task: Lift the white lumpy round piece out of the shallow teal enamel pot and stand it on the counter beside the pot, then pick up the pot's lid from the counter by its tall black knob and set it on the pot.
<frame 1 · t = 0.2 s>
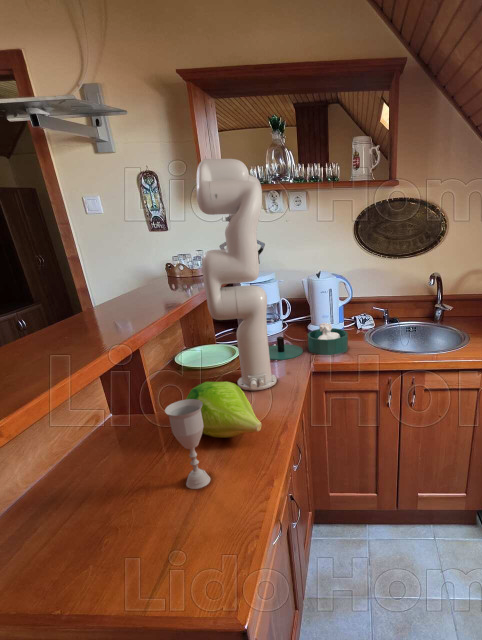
hand: (244, 266, 165), 31 cm above the table, tool pointing down, fingers open, 9 cm apart
lettuce: (228, 434, 108), on the table
chalice: (198, 482, 90), on the table
white lumpy round piece: (328, 348, 166), resting on pot
lid: (281, 352, 163), point 1 cm above the table
pot: (328, 349, 166), on the table
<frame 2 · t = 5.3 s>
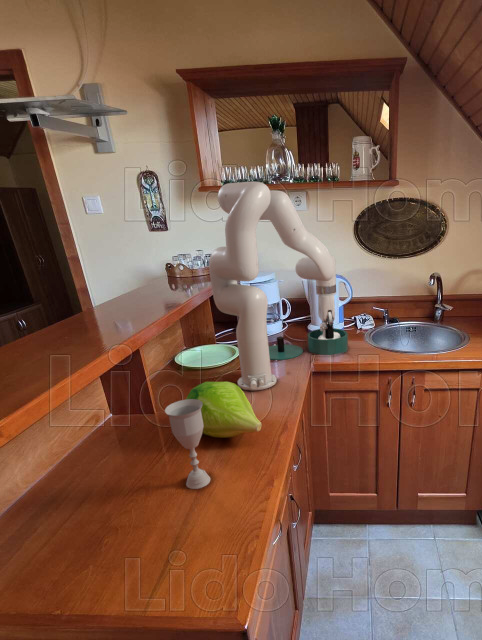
hand: (328, 335, 164), 6 cm above the table, tool pointing down, fingers closed on white lumpy round piece, 5 cm apart
white lumpy round piece: (328, 348, 166), resting on pot, touching gripper
everything else where it was.
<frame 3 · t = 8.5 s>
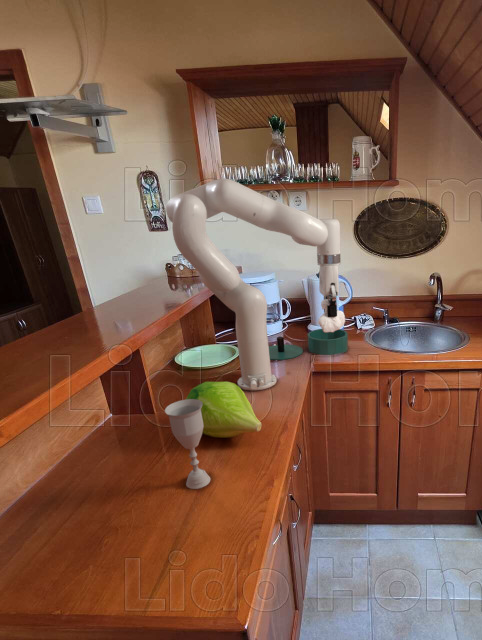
hand: (330, 314, 143), 19 cm above the table, tool pointing down, fingers closed on white lumpy round piece, 5 cm apart
white lumpy round piece: (330, 329, 146), point 13 cm above the table, touching gripper
everything else where it was.
when the fingers open (6 cm above the table, at t = 11.8 s): white lumpy round piece stays where it is, on the table.
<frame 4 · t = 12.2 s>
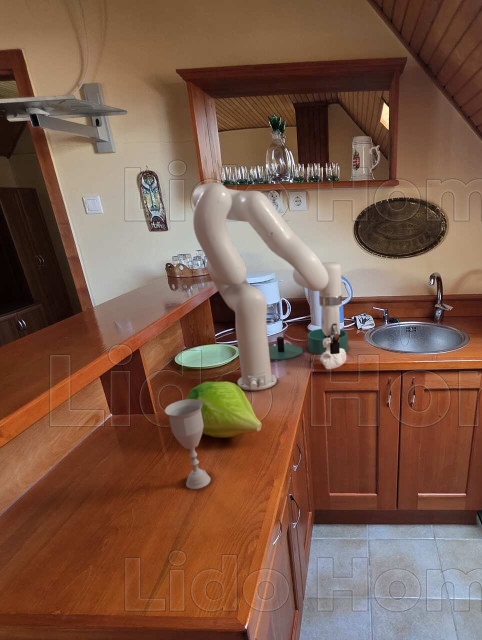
hand: (331, 349, 147), 6 cm above the table, tool pointing down, fingers open, 9 cm apart
white lumpy round piece: (332, 366, 150), on the table
everything else where it was.
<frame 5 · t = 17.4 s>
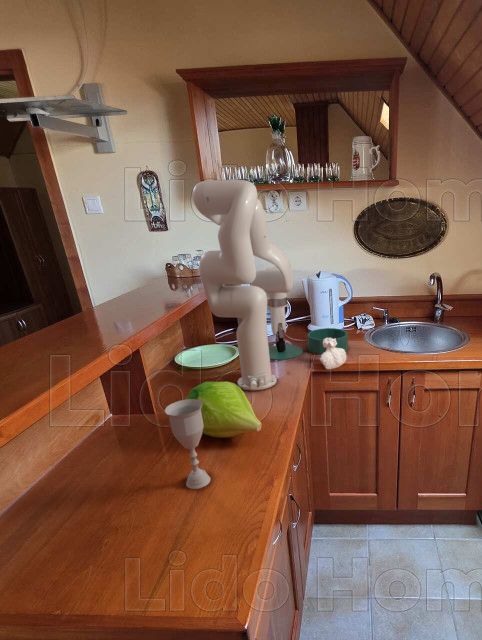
hand: (281, 348, 162), 2 cm above the table, tool pointing down, fingers closed on lid, 2 cm apart
lid: (281, 352, 163), point 1 cm above the table, touching gripper
everything else where it was.
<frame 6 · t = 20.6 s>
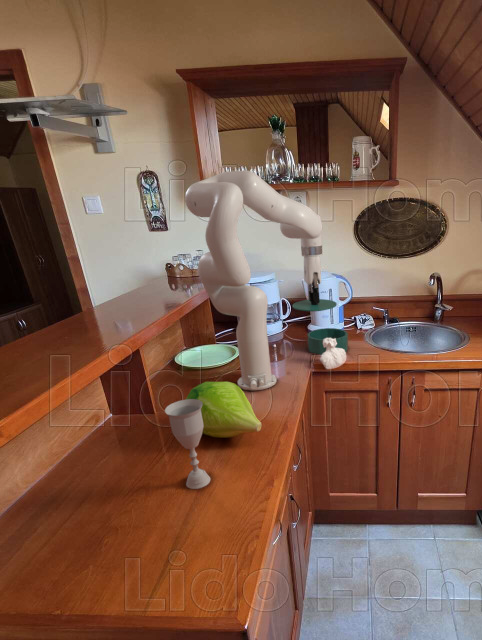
hand: (314, 301, 158), 19 cm above the table, tool pointing down, fingers closed on lid, 2 cm apart
lid: (314, 305, 158), point 18 cm above the table, touching gripper
everything else where it was.
when the fingers open (8 cm above the table, at t = 23.8 s): lid stays where it is, resting on pot.
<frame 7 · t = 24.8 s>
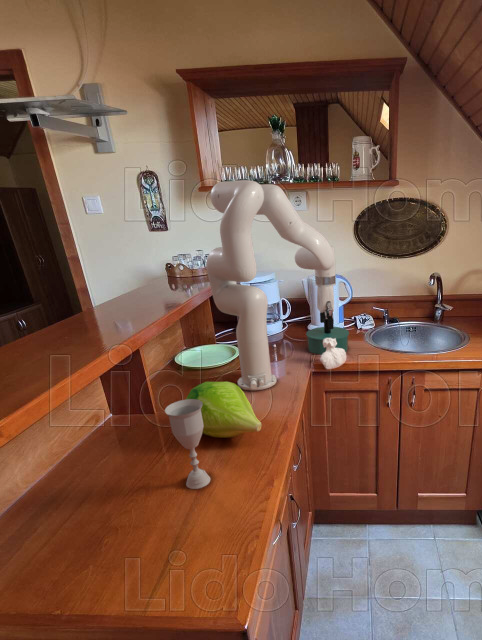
hand: (326, 325, 162), 10 cm above the table, tool pointing down, fingers open, 9 cm apart
lid: (327, 333, 164), point 6 cm above the table, touching pot
everything else where it was.
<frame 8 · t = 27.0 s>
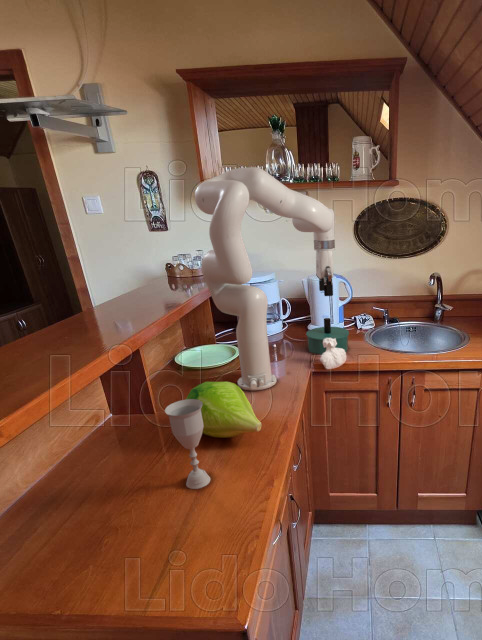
hand: (326, 293, 157), 22 cm above the table, tool pointing down, fingers open, 9 cm apart
nothing on the table moved.
at the end: white lumpy round piece inside the target area (0.1 cm from its centre), on the table; white lumpy round piece tilted 1°; lid 0.1 cm off-centre on the pot, point 6.4 cm above the pot's base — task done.
